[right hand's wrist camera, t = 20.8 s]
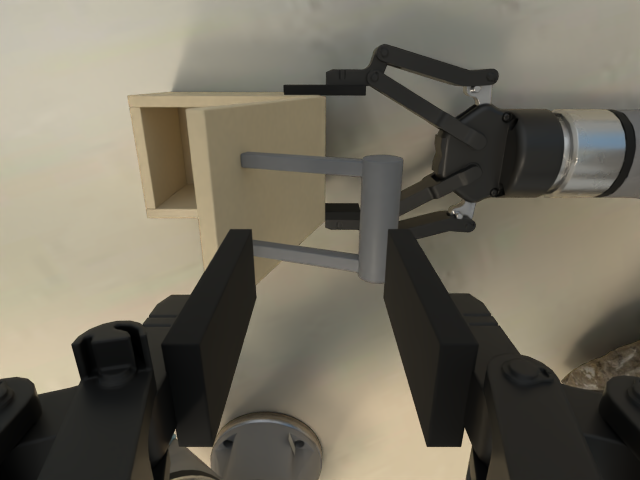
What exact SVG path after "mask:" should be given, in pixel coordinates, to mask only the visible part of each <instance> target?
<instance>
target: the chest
mask: <svg viewBox="0 0 640 480" xmlns="http://www.w3.org/2000/svg"><path fill="white" fill-rule="evenodd" d="M310 96H320V95H284V92H164V93H152V94H140V95H128V96H127V97H128V103H129V107H130V114H131V120H132V126H133V132H134V138H135V144H136V150H137V157H138V163H139V169H140V175H141V181H142V187H143V193H144V199H145V205H146V208H147V209H146V211H147V218H198V213H197V204H196V196H195V187H194V178H193V170H192V161H191V153H190V144H189V135H188V127H187V118H186V109H190V108H200V107H210V106H220V105H230V104H240V103H250V102H260V101H270V100H280V99H290V98H300V97H310Z"/></svg>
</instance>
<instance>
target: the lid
mask: <svg viewBox="0 0 640 480" xmlns="http://www.w3.org/2000/svg"><path fill="white" fill-rule="evenodd" d="M186 118H187V127H188V135H189V144H190V153H191V161H192V170H193V178H194V187H195V196H196V204H197V213H198V221H199V230H200V239H201V247H202V256H203V264H204V272H205V270H206V268H207V267H208V265H209V263H210V262H211V260H212V258H213V257H214V255H215V253H216V252H217V250H218V248H219V247H220V245H221V243H222V242H223V240H224V238H225V237H226V235H227V233H228V232H229V230H230V229H252V239H253V254H254V269H255V284H256V285H257V284H258V283H259V282H260V281H261V280H262V279H263V278H264V277H265V276H266V275H267V274H268V273H269V272H271V271H272V270H273V269H274V268H275V267H276V266H277V265H278V264H279V263H280V262H281V261H288V262H294V263H301V264H307V265H313V266H320V267H326V268H333V269H339V270H345V271H352V272H358V276H359V277H360V278H361V279H362V280H364V281H367V282H370V283H385V269H386V254H387V239H388V229H398V222H399V209H400V196H401V183H402V170H403V159H402V158H401V157H397V156H391V155H370V156H365V157H363V159H353V158H337V157H325V132H326V97H325V96H310V97H300V98H290V99H280V100H270V101H260V102H250V103H240V104H230V105H220V106H210V107H200V108H190V109H186ZM325 174H329V175H341V176H354V177H362V183H361V208H360V233H359V255H358V254H351V253H344V252H337V251H330V250H323V249H316V248H309V247H302V246H298V245H300V244H301V243H302V242H303V241H304V240H305V239H306V238H307V237H308V236H309V235H310V234H311V233H312V232H313V231H315V230H316V229H317V228H318V227H319V226H320V225H321V224H322V223H323V222H324V221H325Z"/></svg>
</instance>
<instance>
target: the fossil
mask: <svg viewBox="0 0 640 480" xmlns="http://www.w3.org/2000/svg"><path fill="white" fill-rule="evenodd" d="M622 375H626V376H635V377H640V340H639V341H637V342H634V343H632V344H628V345H625V346H622V347H618V348H617V349H616V350H613V351H610V352H608V354H607V355H605V356H603V357H601V358H596V359H595V360H592V361H590V362H588V363H585V364H582V365H581V366H579V367H578V368H576V369H574V370H573V371H571V372H570V373H569V374H568V375H567V376H566V377H565V378H564V379H563V380H562V381H561V382H562V383H563V384H565V385H568V386H572V387H577V388H582V389H586V390H591V391H596V392H600V393H603V392H604V389H605V386H606V383H607V381H609V380H610V379H611V378H612V377H616V376H622Z"/></svg>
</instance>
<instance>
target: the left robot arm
mask: <svg viewBox="0 0 640 480" xmlns="http://www.w3.org/2000/svg"><path fill="white" fill-rule="evenodd" d="M387 65H389V66H392V67H395V68H398V69H402V70H405V71H408V72H411V73H415V74H418V75H421V76H424V77H428V78H431V79H434V80H437V81H440V82H444V83H447V84H450V85H455V86H463V92H464V94H465V95H467V96H471V97H473V98H474V100H475V104H474V105H473V106H471V107H470V108H468V109H467V110H466V111H464V112H463V113H461V114H460V115H458V116H457V117H455V118H454V117H453V116H451V115H450V114H448V113H446V112H444V111H442V110H441V109H439V108H437V107H436V106H434V105H433V104H431V103H429V102H428V101H426V100H425V99H423V98H421V97H420V96H418V95H417V94H415V93H413V92H412V91H410V90H409V89H407V88H406V87H404V86H402V85H401V84H399V83H398V82H396V81H394V80H393V79H391V78H390V77H388V76H386V75H385V74H384V71H385V69H386V66H387ZM498 77H499V75H498V72H497V70H495V69H480V70H467V69H463V68H460V67H457V66H454V65H451V64H448V63H444V62H441V61H438V60H435V59H432V58H429V57H425V56H422V55H419V54H416V53H413V52H409V51H406V50H403V49H400V48H397V47H394V46H390V45H387V44H383V45H380V46H379V47H377V48H376V49H375V50H374V52H373V56H372V58H371V61H370V64H369V65H368V67H367V68H365V69H363V70H330V71H328V72H326V85H284V95H366V86H370V87H372V88H374V89H375V90H377V91H379V92H380V93H382V94H383V95H385V96H387V97H388V98H390V99H392V100H393V101H395V102H396V103H398V104H400V105H401V106H403V107H405V108H406V109H408V110H409V111H411V112H413V113H414V114H416V115H418V116H419V117H421V118H422V119H424V120H426V121H427V122H429V123H430V124H432V125H433V126H435V127H437V128H438V129H440V130H439V132H438V135H435V148H436V154H435V157H434V159H433V164H432V170H433V171H434V172H433V173H432V174H430V175H428V176H426V177H424V178H423V179H422V180H421V181H420V182H418V183H416V184H414V185H412V186H410V187H408V188H406V189H405V190H403V191H401V196H400V209H399V216H401V215H403V214H405V213H407V212H409V211H410V210H412V209H414V208H416V207H418V206H420V205H422V204H424V203H426V202H428V201H430V200H432V199H437V198H440V197H443V196H444V195H446V194H448V193H450V192H452V191H453V192H454V193H456V194H457V195H458V196H460V197H461V198H462V200H461V202H460V203H459V204H457V205H453V206H450V207H449V209H448V211H437V212H433V213H429V214H425V215H421V216H417V217H413V218H410V219H406V220H402V221H399V222H398V229H410V230H411V232H412V233H413V235H414V237H415V238H416V239H419V238H423V237H427V236H431V235H435V234H439V233H443V232H447V231H457V232H471V231H473V230H474V229H475V227H476V224H475V222H474V221H473V220H472V217H473V213H474V209H475V204H476V202H479V201H481V200H483V199H486V198H490V197H497V198H535V197H539V196H543V197H547V198H571V197H619V198H639V199H640V110H607V109H555V110H553V111H550V110H547V109H499V108H497V107H495V106H494V105H492V104H491V96H492V85H493V84H494V83H496V82H497V80H498ZM325 228H328V229H331V230H337V229H338V230H341V229H342V230H360V207H359V204H358V203H325ZM168 449H169V454H170V461H171V467H170V476H169V480H318V479H319V476H320V472H321V468H322V450H321V445H320V442H319V440H318V438H317V437H316V435H315V434H314V432H313V431H312V430H311V429H310V428H309V427H308V426H306V425H305V424H304V423H302V422H300V421H299V420H297V419H295V418H293V417H290V416H287V415H284V414H279V413H273V412H257V413H251V414H247V415H243V416H240V417H238V418H236V419H234V420H232V421H231V422H229V423H228V424H226V425H225V426H224V427H223V428H222V429H221V431H220V432H219V433H218V435H217V437H216V439H215V442H214V446H213V449H212V453H211V469H210V468H209V467H208V466H207V465H206V464H205V463H204V462H202V461H201V460H200V459H199V458H198V457H197V456H196V455H194V454H193V453H192V452H191V451H190V450H189V449H188V448H186V447H179V445H178V440H177V439H176V435H175V434H173V436H172V439H171V441H170V443H169V446H168Z"/></svg>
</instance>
